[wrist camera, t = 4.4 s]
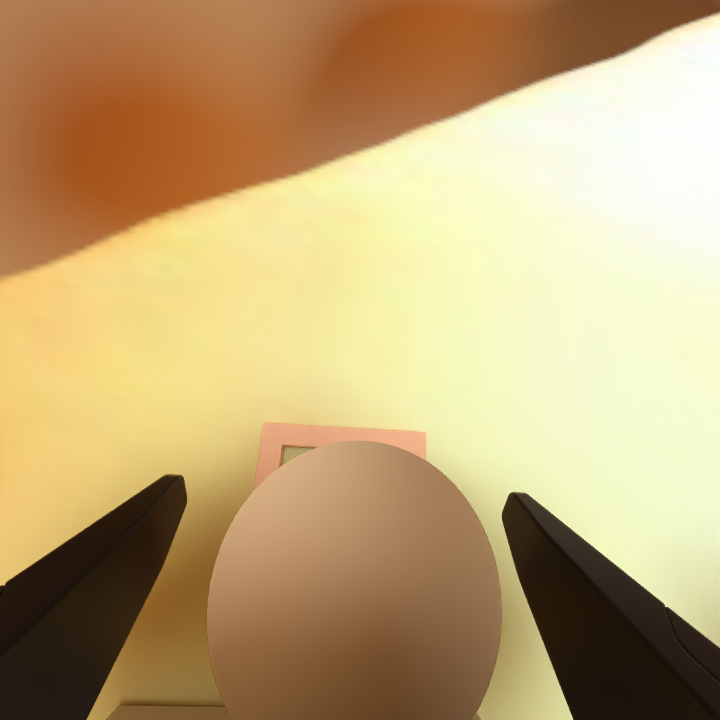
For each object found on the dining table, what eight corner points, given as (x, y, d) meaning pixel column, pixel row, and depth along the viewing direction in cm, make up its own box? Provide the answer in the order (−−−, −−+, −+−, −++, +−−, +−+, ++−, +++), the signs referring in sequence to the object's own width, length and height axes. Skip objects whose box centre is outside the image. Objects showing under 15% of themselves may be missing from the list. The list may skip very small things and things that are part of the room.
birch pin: (292, 561, 15) (172, 795, 4) (301, 468, 16) (236, 433, 5) (380, 565, 15) (518, 793, 4) (382, 472, 17) (488, 447, 5)
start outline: (239, 614, 14) (233, 621, 13) (266, 425, 17) (263, 422, 16) (424, 619, 15) (429, 627, 14) (421, 434, 17) (425, 432, 17)
